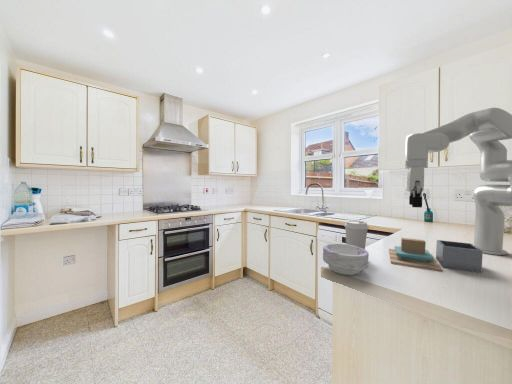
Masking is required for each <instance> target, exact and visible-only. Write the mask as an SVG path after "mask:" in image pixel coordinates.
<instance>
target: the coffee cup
mask: <svg viewBox="0 0 512 384" xmlns="http://www.w3.org/2000/svg"><path fill="white" fill-rule="evenodd" d="M343 227H345V242H346V243H345V244H348V245H353V246H357V247H360V248H363V249H365V250H366V243H367V236H368V235H367V234H368V230H369V228H370V227H369V225H368V222H366V221H361V220H346V221H345V223H344V225H343Z"/></svg>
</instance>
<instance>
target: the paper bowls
mask: <svg viewBox="0 0 512 384" xmlns="http://www.w3.org/2000/svg"><path fill="white" fill-rule="evenodd" d="M322 252H323V253H322V260H323V262H324V263H326V264H327V266H328V268H329V269H330V270H331V271H332V272H335V273H337V274H340V275H344V276H354V275H358V274H359V273H361V271H363V270H365V269H367V268H368V265H369V251H368V250H366V248H365V249H363V248H360V247H357V246H353V245H348V244H346V243H335V242H334V243H328V244H324V245H323V249H322Z"/></svg>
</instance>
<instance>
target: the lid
mask: <svg viewBox="0 0 512 384" xmlns="http://www.w3.org/2000/svg"><path fill="white" fill-rule="evenodd" d="M426 243H427V241H426V240H424V239H417V238H408V237H401V239H400V246H398V245H395V246H394V249H395V251H396V255H397V256H400V258H401V259H406V260H413V261H420V262H428V260H432V261H434V258H435V257H434V255H433V254H432V253H431V252H430V251H429V250H428V249H426V245H427V244H426ZM431 254H432V255H431ZM433 257H434V258H433Z"/></svg>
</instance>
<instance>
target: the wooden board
mask: <svg viewBox="0 0 512 384" xmlns="http://www.w3.org/2000/svg"><path fill="white" fill-rule="evenodd" d="M388 253H389V260H390V264H394V265H399V266H400V265H401V266H408V267H413V268H418V269H424V270H431V271H437V272H438V271H439V272H443V267H442V266H441V265H440V263H439V262H438V261H437V259H436V257H434V256H433V254H432V253H430V254H431V255H432V256H433V258H434V261H432V260H428V262H420V261H413V260H406V259H401V258H400V256H397V255H396V251H395V248H388Z"/></svg>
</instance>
